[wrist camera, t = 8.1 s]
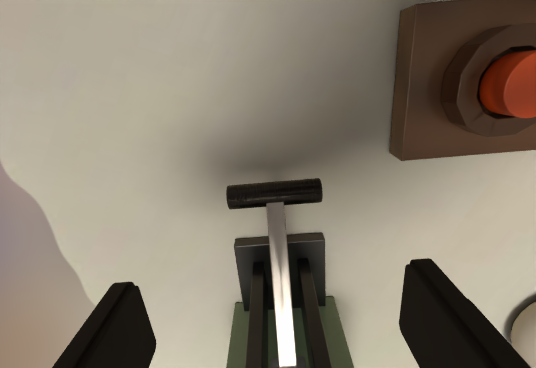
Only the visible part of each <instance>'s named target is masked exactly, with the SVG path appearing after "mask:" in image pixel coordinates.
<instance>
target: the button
mask: <svg viewBox="0 0 536 368" xmlns="http://www.w3.org/2000/svg"><path fill="white" fill-rule="evenodd" d="M479 96H480V100H481V102H482V104H483V106H484V107H485V108H486V109H487V110H489V111H491V112H493V113H498V114H503V115H509V116H514V117H519V118H532V117H536V50H531V51H518V52H512V53H509V54H506V55H504V56H502V57H500V58H499V59H498V60H496V61H495V62H494V63H493V64H492V65H491V66H490V67H489V68H488V69H487V71H486V72H485V74H484V76H483V78H482V80H481V83H480V87H479Z"/></svg>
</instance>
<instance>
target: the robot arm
mask: <svg viewBox="0 0 536 368" xmlns="http://www.w3.org/2000/svg"><path fill="white" fill-rule="evenodd" d="M399 326H400V330H401V333H402V335H403V337H404V339H405V341H406V343H407V345H408V346H409V348H410V350H411V352H412V354H413V356H414V358H415V360H416V362H417V364H418V365H419V367H420V368H531V367H530V366H529V365H528V363H527V362H526V361H525V360H524V359H523V358H522V357H521V356H520V355H519V354H518V352H517V351H516V350H515V349H514V348H513V347H512V346H511V345H510V344H509V342H508V341H507V340H506V339H505V338H504V337H503V336H502V335H501V334H500V333H499V331H498V330H497V329H496V328H495V327H494V326H493V325H492V324H491V323H490V321H489V320H488V319H487V318H486V317H485V316H484V315H483V314H482V313H481V312H480V310H479V309H478V308H477V307H476V306H475V305H474V304H473V303H472V302H471V301H470V300H469V299H467V298H466V297H465V296H464V295H463V294H462V293H461V292H460V291H459V289H458V288H457V287H456V286H455V285H454V284H453V283H452V282H451V280H450V279H449V278H448V277H447V276H446V275H445V274H444V273H443V272H442V270H441V269H440V268H439V267H438V266H437V265H436V264H435V263H434V262H433V261H432V260H431V259H429V258H428V259H415V260H411V262H410V264H408V265H406V267H405V275H404V284H403V293H402V301H401V310H400V319H399ZM155 349H156V339H155V336H154V333H153V330H152V327H151V323H150V320H149V317H148V314H147V311H146V308H145V305H144V302H143V299H142V296H141V293H140V290H139V287H138V286H135V285H134V283H132V282H121V283H114V284H112V286H111V287H110V288H109V289H108V291H107V292H106V294H105V295H104V296H103V298H102V299H101V301H100V302H99V303H98V305H97V306H96V308H95V309H94V310H93V312H92V313H91V315H90V316H89V317H88V319H87V320H86V321H85V323H84V324H83V326H82V327H81V328H80V330H79V331H78V332H77V334H76V335H75V337H74V338H73V340H72V341H71V342H70V344H69V345H68V346H67V348H66V349H65V350H64V352H63V353H62V355H61V356H60V357H59V359H58V360H57V362H56V363H55V364H54V366H53V367H52V368H149V365H150V363H151V360H152V358H153V355H154V353H155Z"/></svg>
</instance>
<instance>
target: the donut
mask: <svg viewBox="0 0 536 368" xmlns="http://www.w3.org/2000/svg"><path fill="white" fill-rule="evenodd" d="M510 336H511V341H512V346H513V348H514V349H515V350H516V351H517V352H518V354H519V355H520V356H521V357H522V358H523V359H524V360H525V361H526V362H527V363H528V365H529V366H530V367H531V368H536V302H534V303H532V304H530V305H529V306H528V307H527V308H526V309H524V310H523V311H522V312H521V313H520V314H519V316H518V317H517V319H516V320H515V321H514V324H513V327H512V331H511V335H510Z"/></svg>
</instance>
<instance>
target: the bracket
mask: <svg viewBox="0 0 536 368" xmlns="http://www.w3.org/2000/svg"><path fill="white" fill-rule="evenodd" d="M286 237H287V249H288V261H289V273H290V285H291V297H292V308H301V311H302V318H303V325H304V332H305V339H306V346H307V353H308V361H309V368H332V365H331V360H330V356H329V351H328V347H327V342H326V337H325V333H324V328H323V324H322V319H321V314H320V310H319V306H326V298H325V239H324V236H323V233H311V234H298V235H286ZM234 250H235V256H236V262H237V269H238V275H239V282H240V288H241V294H242V301H243V307H244V311H249V322H248V336H247V349H246V362H245V368H268V310H274V298H273V285H272V271H271V258H270V245H269V237H258V238H245V239H235V244H234Z"/></svg>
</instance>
